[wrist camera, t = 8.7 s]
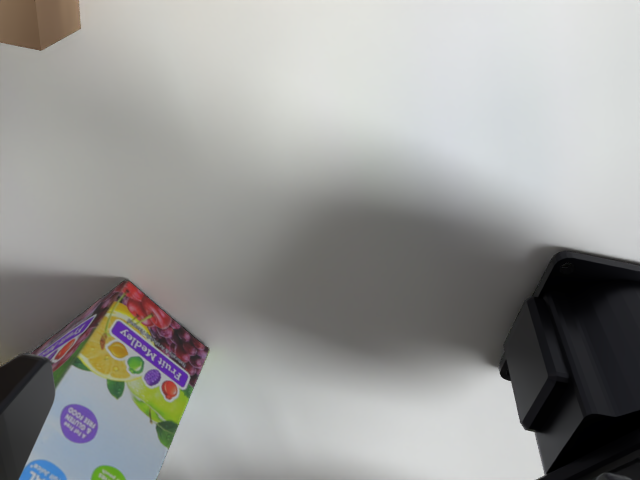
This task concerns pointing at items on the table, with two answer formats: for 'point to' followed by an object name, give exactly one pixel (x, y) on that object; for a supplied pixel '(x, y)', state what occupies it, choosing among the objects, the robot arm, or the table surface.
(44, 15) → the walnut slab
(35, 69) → the table surface
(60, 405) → the snack box
